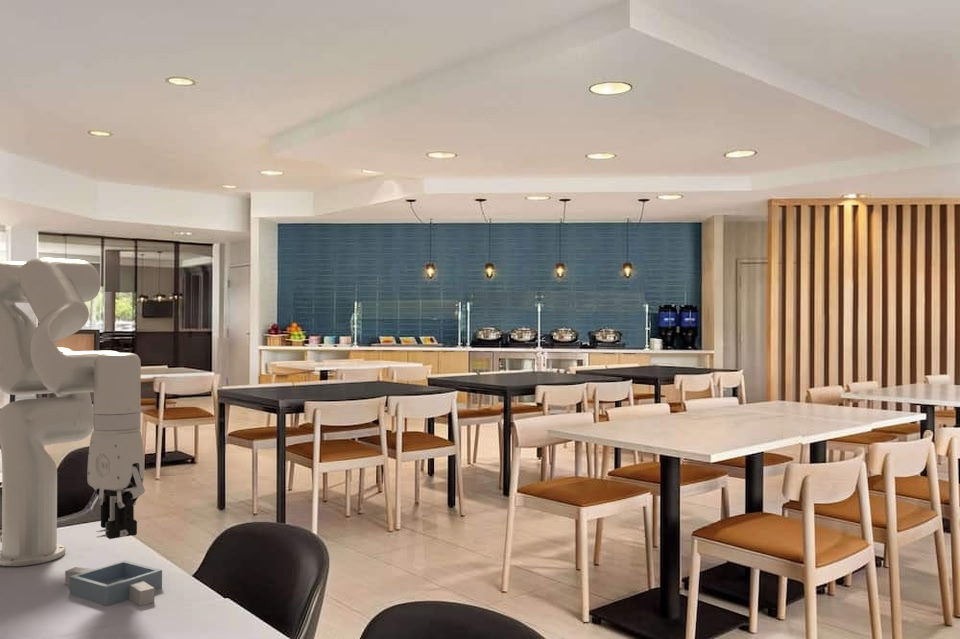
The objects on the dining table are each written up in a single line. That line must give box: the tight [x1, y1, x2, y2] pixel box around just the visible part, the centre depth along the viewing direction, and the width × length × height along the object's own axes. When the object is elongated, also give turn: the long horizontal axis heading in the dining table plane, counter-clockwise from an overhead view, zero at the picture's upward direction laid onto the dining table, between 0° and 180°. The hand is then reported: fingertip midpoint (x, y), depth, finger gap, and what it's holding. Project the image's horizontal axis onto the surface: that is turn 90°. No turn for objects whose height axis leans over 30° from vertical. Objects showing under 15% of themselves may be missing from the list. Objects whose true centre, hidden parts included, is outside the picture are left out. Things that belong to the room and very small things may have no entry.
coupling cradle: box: [64, 560, 163, 607], centre depth 138 cm, size 22×11×3 cm, turn 60°
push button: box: [95, 485, 138, 540], centre depth 138 cm, size 7×5×10 cm
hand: (117, 526), depth 138 cm, fingers closed on push button, 3 cm apart
